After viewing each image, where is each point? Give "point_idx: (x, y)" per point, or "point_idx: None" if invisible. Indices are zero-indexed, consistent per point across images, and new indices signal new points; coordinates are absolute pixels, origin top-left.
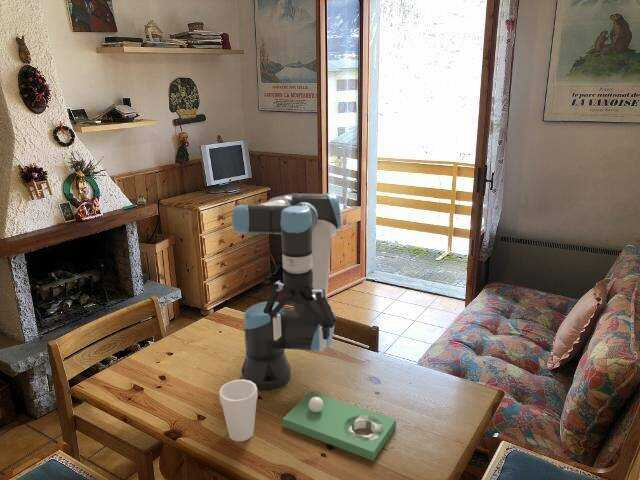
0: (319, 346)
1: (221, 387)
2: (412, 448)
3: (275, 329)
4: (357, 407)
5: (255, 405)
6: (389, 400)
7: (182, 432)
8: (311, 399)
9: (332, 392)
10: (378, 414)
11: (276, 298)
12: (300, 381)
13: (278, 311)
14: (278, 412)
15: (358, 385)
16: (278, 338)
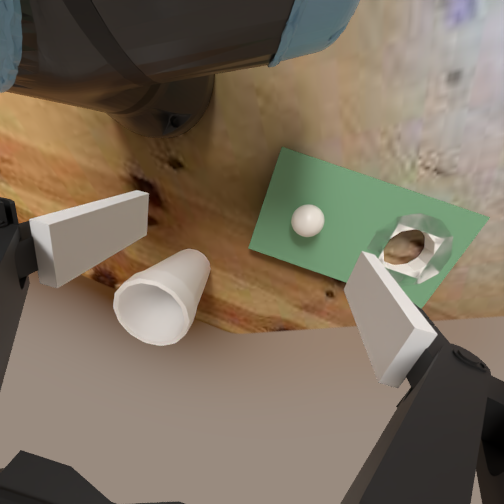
0: (348, 302)
1: (115, 309)
2: (495, 264)
3: (110, 254)
4: (399, 189)
5: (197, 292)
6: (484, 108)
7: (113, 275)
8: (298, 225)
9: (330, 106)
10: (449, 206)
11: None
12: (242, 74)
13: (15, 264)
14: (230, 205)
15: (401, 50)
16: (147, 218)
